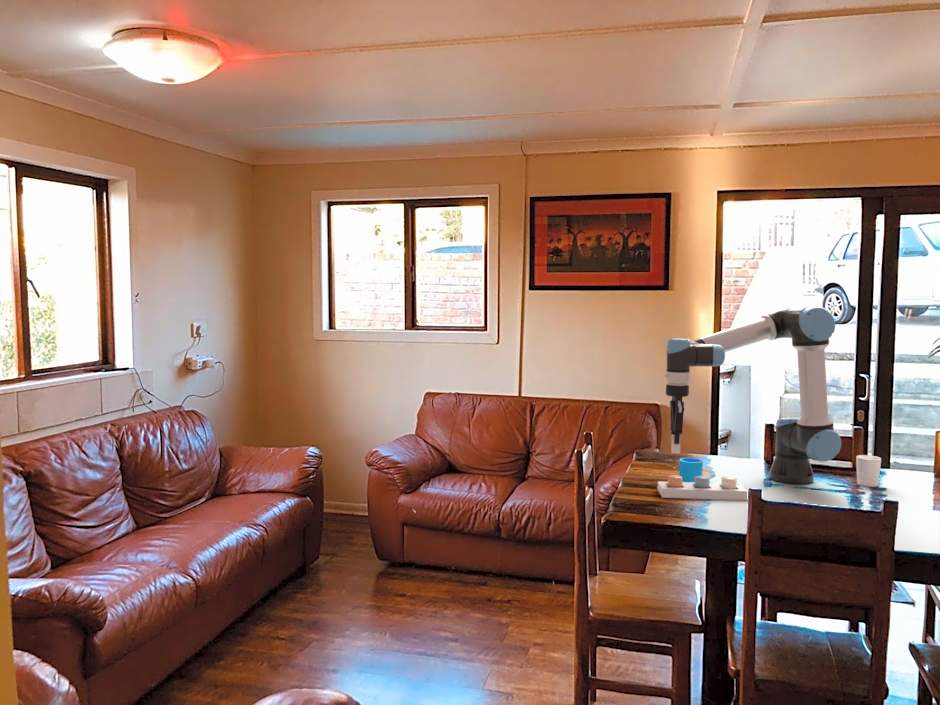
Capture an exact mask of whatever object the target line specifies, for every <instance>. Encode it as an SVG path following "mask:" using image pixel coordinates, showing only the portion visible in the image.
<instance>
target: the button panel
mask: <svg viewBox="0 0 940 705" xmlns="http://www.w3.org/2000/svg"><path fill="white" fill-rule="evenodd" d="M694 483H695V482H682V488H676V487H668V481H664V480H663V481H662V480H661V481H657V492H658V493H659V495H660V496H661V498H662V499H663V498H664V499H665V498H666V499H694V500H696V499H697V500H700V499H701V500H731V501H739V500H740V501H748V500H747V491H748V490H747V489H746V487H744V486H743V485H742V484H741V483H736V489H722V488H721V484H722V482H709V488H695V487H694Z"/></svg>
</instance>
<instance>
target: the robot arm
mask: <svg viewBox="0 0 940 705" xmlns="http://www.w3.org/2000/svg"><path fill="white" fill-rule="evenodd" d="M835 321H836V320H835V318H834V317H833V314H832V313H831V312H830V311H829V310H828V309H827V308H824V307H821V306H816V305H789V306H786V307H784V308H780V309H777V310H774V311H772V312H769V313H766V314H763V315H762V316H761V317H760V319H756V320H753V321H751V322H749V321H748V322H747V323H743V324H740V325H737V326H733V327H731V328H728V329H723V330H721V331H719V332H715V333H712V334H708V335H706V336H702V337H700V338H696V339H693V340H690V339H689V338H670V339H668V340H667V344H666V373H665V374H664V378H666V381H665V382H666V383H667V384H666V385H665V395H666V396H668V397H671V400H670V401H669V406H670V408H669V409H670V410H669V411H670V435H671V444H670V447H671V448H670V449H671V450H670V453H671V454H681V440H682V439H681V437H682V434H683V426H684V425H683V422H684V412H685V402H684V401H683V397H684V398H686V397H688V396H689V395H690V394H689V392H690V386H689V383H690V370H691V369H690V367H693V368H694V367H711V368H713V367H720V366H722V365H723V364H724V362H725V360H726V359H725V358H726V353H727V352H730V351H733V350H736V349H739V348H743V347H745V346H748V345H752V344H755V343H758V342H761V341H764V340H769V341H773V340H778V339H784V338H785V339H786V338H787V339H788V338H789V339H791V343H792V344H791V345H792V347H793V348H794V349H796V352H797V365H798V368H797V369H798V382H799V383H798V384H799V399H800V400H799V402H800V417H780V418H778V419H777V420H776V424H775V447H774V448H775V450H774V451H775V452H774V454H775V455H774V459H773V461H772V464H771V466H770V469H769V475H768V477H769V479H771V480H773V481H777V482H780V483H786V484H795V485H796V484H797V485H801V484H802V485H803V484H804V485H806V484H811V483H814V482H815V481H814V480H815V477H814V471H813V467H812V465H811V461H810V460H812V461H815V462H816V461H818V462H822V463H824V462H825V463H826V462H828V461H831V460H833V459H834V458H835V457H836V455H838V454H839V452H841V451H840V450H841V448H842V438H841V436H840V435H839V434H838V433H837V431H835V430H834V429H835V428H834V421H833V420H832V419H831V418H830V417H829V410H828V409H829V408H828V392H827V390H828V389H827V375H826V374H827V371H826V370H827V369H826V352H825V349H826V348H827V347H828V346H829V345H830V338H831V337H832V336H833V335H832V334H833V333H834V332H835V329H836V322H835Z"/></svg>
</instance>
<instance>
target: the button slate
mask: <svg viewBox="0 0 940 705" xmlns="http://www.w3.org/2000/svg"><path fill="white" fill-rule="evenodd" d="M709 483H710V477H708V476H706V475H702V476H695V483H694V487H695V488H709Z"/></svg>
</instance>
